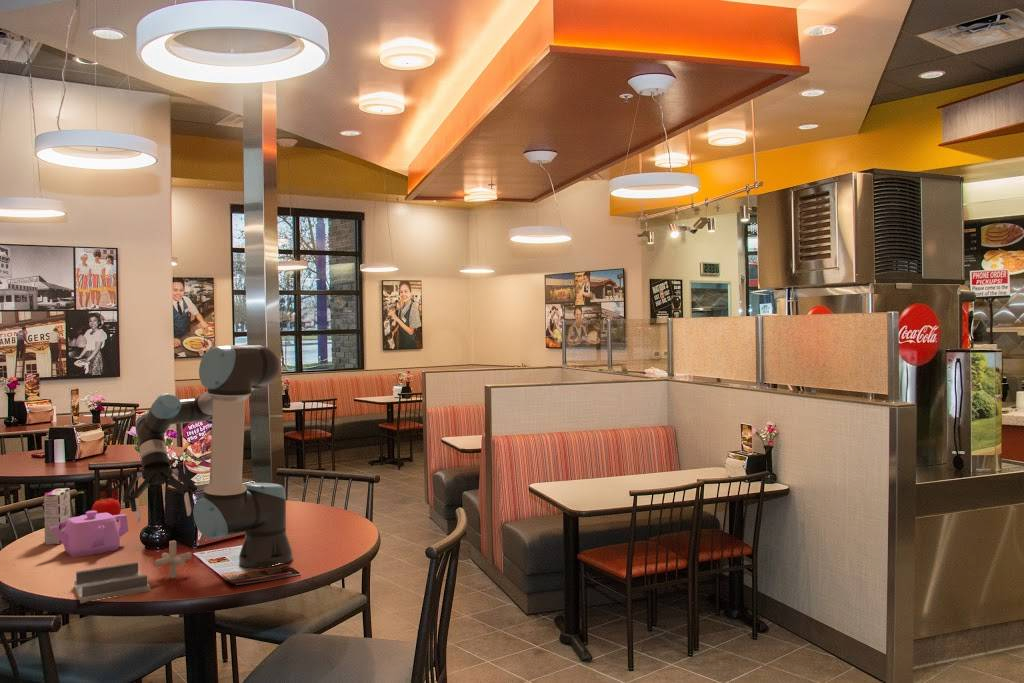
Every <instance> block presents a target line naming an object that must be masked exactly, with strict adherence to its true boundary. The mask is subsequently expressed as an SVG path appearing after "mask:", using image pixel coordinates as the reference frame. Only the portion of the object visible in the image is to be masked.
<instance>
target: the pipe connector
mask: <svg viewBox="0 0 1024 683" xmlns="http://www.w3.org/2000/svg"><path fill="white" fill-rule="evenodd" d="M168 544H169V546H168V552H163V553H162V554H161V558H159V559H155V560H153V565H154V566H153V567H156V568H157V567H161V566H164V565H169V579H175V578H177V577H178V575H177V574H178V572H177V569H178V567H177V565H178V566H183V565H185V564H186V560H190V559H192V556H193V555H192V552H191V551H188V552H184V553H180V554H177V541H176V540H170V541H169V542H168Z"/></svg>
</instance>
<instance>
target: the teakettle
mask: <svg viewBox="0 0 1024 683" xmlns="http://www.w3.org/2000/svg"><path fill="white" fill-rule="evenodd" d="M127 517H128V516H127V514H126V513H125V514H123V513H122V514H119V515H111V514H109V513H98V514H97V511H91V510H87V511H86V512H85V514H82V515H80V516H79V515H78V516H71V518H68V519H67V523H66V527H65V533H63V532H62V531H61V530H60V529H59V528H58V527H57V526H54V527H51V528H50V529H51V530H52V532H53V533H54V534H55V535H56V536H57V538H58V539H59V540H60V541H61V544H62V545H63V547H64V550H65V553H66V554H68V556H70V557H71V558H79V557H87V556H93V555H99V554H104V553H108V552H114V551H117V550H119V547H120V542H121V540H120V538H121V537H122V536H125V535H126V533H128V532H129V526H128V525H129V524H128V518H127ZM117 521H119V526H118V523H117Z"/></svg>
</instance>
